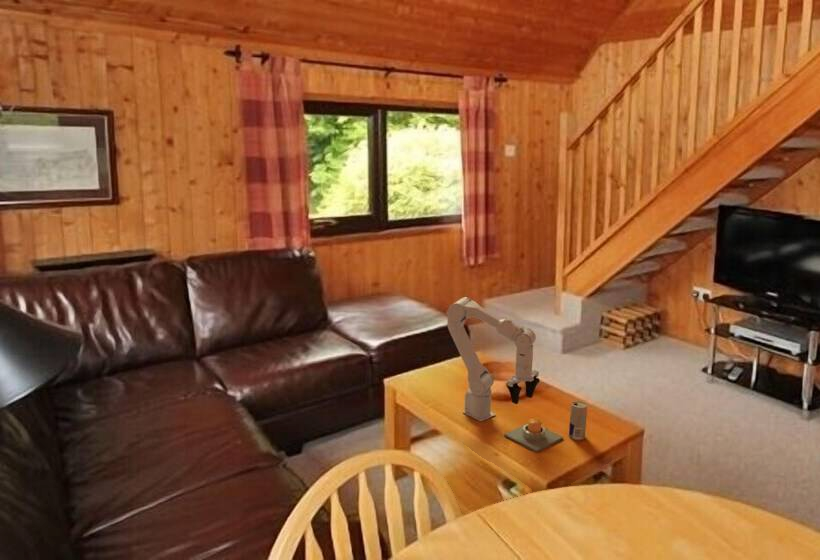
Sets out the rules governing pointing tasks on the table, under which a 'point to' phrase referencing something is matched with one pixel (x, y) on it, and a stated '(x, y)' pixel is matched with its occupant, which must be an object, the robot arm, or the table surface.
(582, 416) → the energy drink
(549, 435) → the gray board
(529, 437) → the segmented brown ring
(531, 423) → the orange rounded capsule
